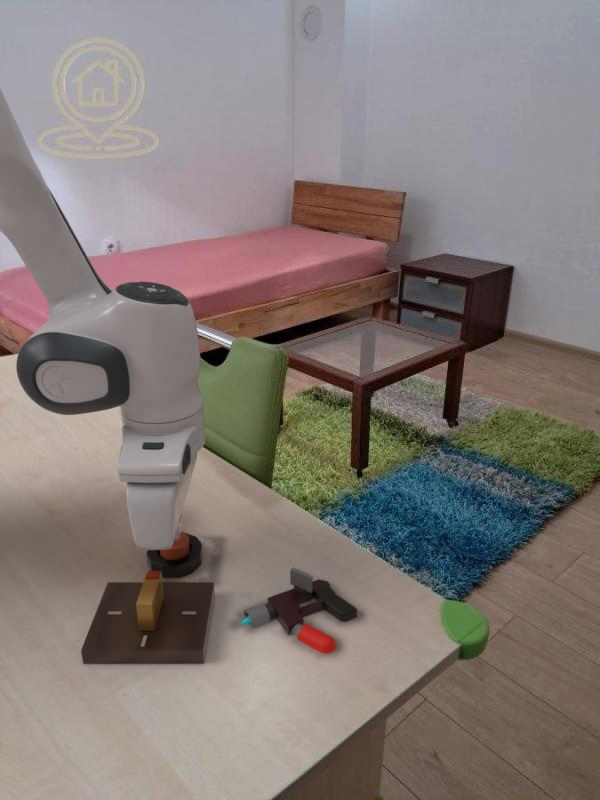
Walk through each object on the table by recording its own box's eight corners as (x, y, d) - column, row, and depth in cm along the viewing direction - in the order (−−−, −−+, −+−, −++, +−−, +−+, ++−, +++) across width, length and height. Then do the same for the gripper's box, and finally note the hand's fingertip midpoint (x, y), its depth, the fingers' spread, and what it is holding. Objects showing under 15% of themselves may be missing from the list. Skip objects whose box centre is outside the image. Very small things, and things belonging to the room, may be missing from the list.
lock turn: (154, 631, 64) (151, 602, 63) (139, 631, 64) (135, 602, 63) (164, 597, 69) (161, 569, 67) (149, 596, 69) (146, 569, 67)
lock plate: (84, 672, 63) (80, 649, 62) (110, 602, 72) (107, 580, 71) (204, 672, 63) (202, 649, 62) (215, 602, 73) (214, 580, 71)
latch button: (157, 560, 75) (155, 548, 74) (162, 542, 78) (161, 530, 78) (187, 560, 75) (186, 549, 75) (191, 542, 79) (191, 530, 78)
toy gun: (232, 623, 70) (231, 588, 68) (326, 587, 75) (327, 554, 73) (271, 687, 62) (271, 650, 60) (372, 642, 67) (375, 607, 65)
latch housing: (128, 590, 74) (125, 570, 73) (142, 548, 82) (140, 528, 80) (213, 590, 74) (212, 570, 73) (220, 548, 82) (219, 529, 80)
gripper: (154, 392, 79) (164, 486, 85) (112, 477, 61) (127, 590, 66) (205, 392, 79) (210, 486, 85) (178, 477, 61) (187, 590, 67)
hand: (174, 532), depth 76 cm, fingers closed
